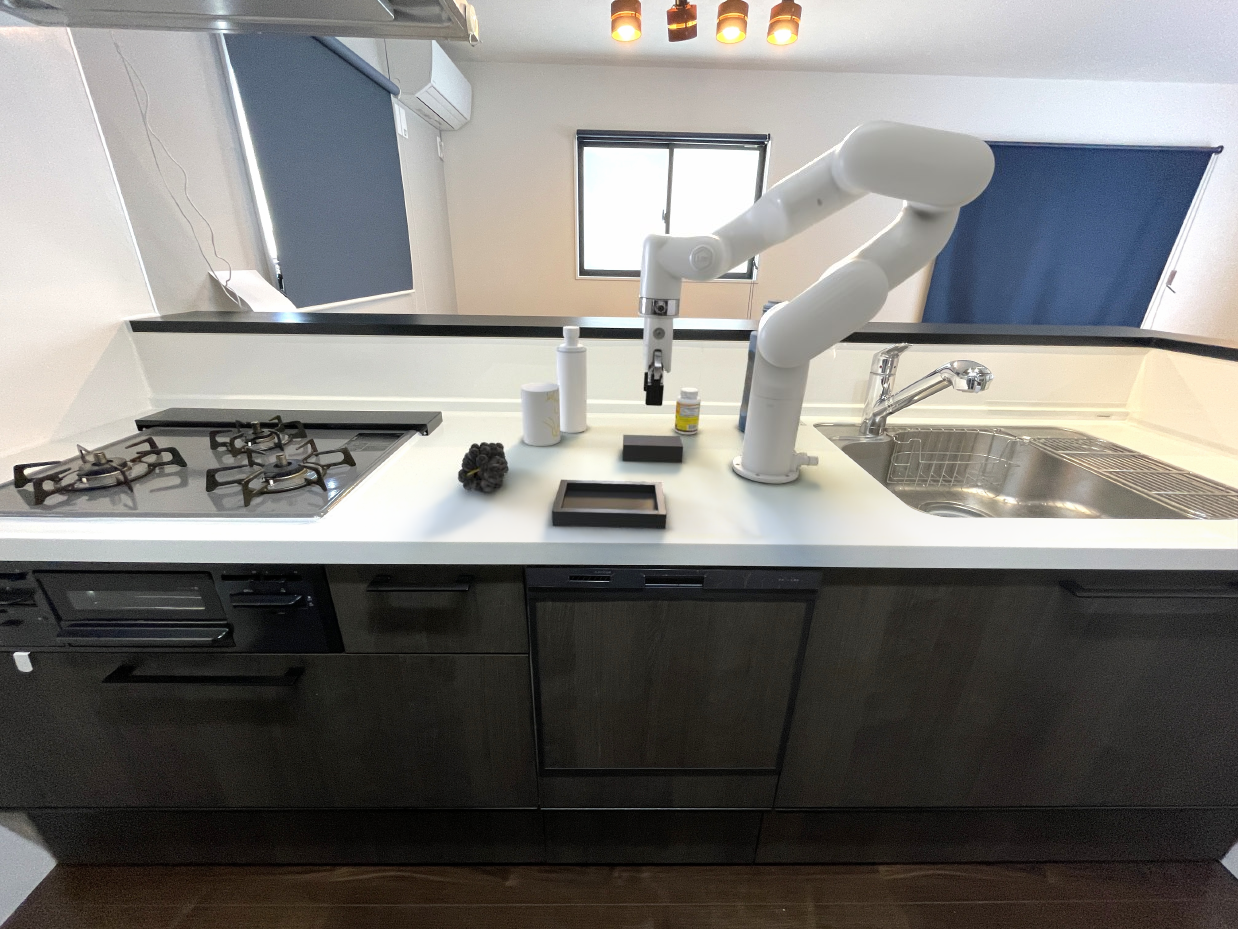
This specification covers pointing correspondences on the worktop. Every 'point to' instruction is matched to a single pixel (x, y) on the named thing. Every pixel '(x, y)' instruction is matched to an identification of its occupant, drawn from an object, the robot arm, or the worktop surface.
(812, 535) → the worktop surface
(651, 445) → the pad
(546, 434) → the cup
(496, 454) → the fruit
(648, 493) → the shallow rectangular tray
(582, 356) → the tall white capped bottle
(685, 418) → the supplement bottle
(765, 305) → the bottle
